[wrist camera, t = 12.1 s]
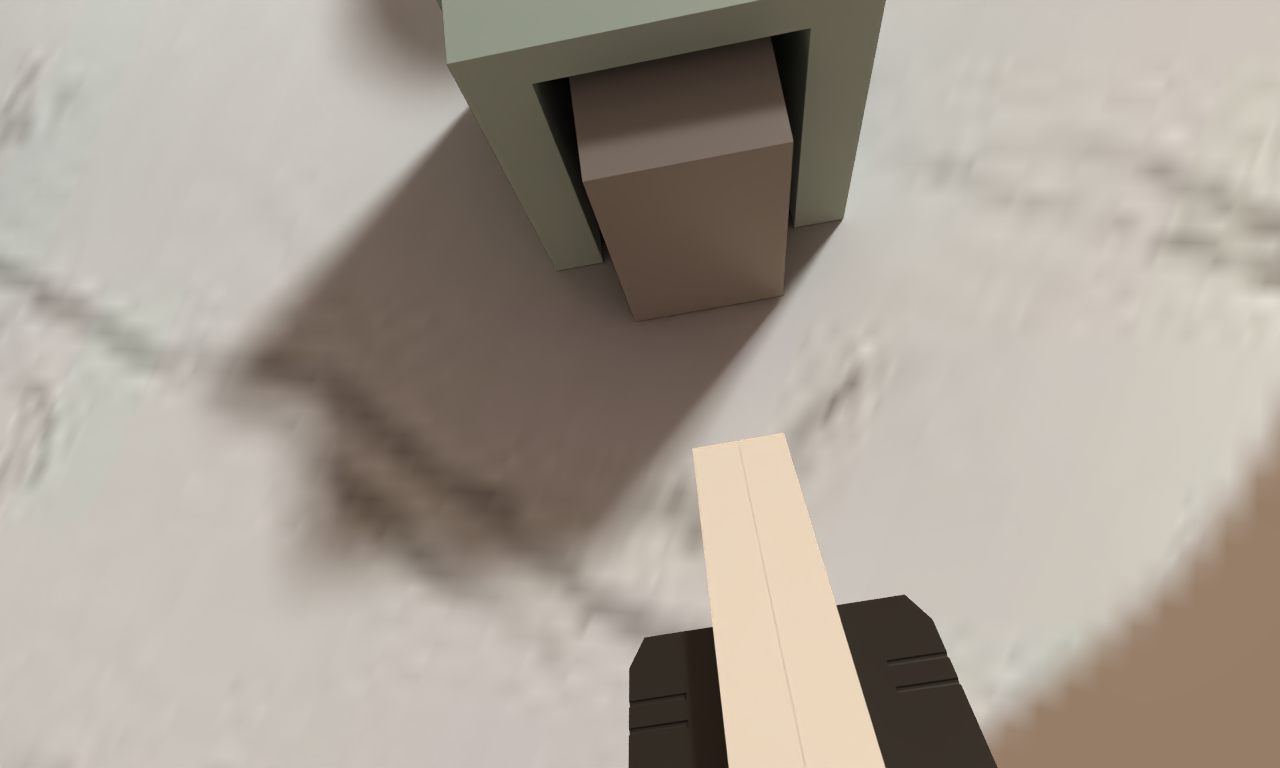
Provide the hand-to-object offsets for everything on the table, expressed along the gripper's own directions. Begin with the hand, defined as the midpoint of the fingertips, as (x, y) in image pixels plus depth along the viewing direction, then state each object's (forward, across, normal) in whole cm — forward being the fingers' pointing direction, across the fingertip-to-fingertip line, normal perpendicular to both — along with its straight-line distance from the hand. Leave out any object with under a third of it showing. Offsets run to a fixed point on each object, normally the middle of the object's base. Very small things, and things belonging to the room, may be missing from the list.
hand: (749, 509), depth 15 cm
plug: (+24, 0, -1) cm, 24 cm away
